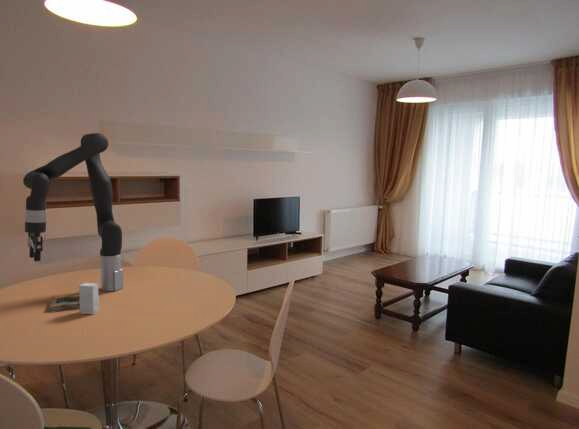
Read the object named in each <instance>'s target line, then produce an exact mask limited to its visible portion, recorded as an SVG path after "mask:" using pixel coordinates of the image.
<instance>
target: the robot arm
mask: <svg viewBox="0 0 579 429" xmlns="http://www.w3.org/2000/svg"><path fill="white" fill-rule="evenodd" d="M108 147H109V140H108V137H107V136H105V134H103V133H98V132H92V133H86V134H83V135H82V137H81V139H80V146H78V147H76V148H74V149H72V150H70V151H68V152H65V153H63V154H61V155H59V156H57V157H56V158H53V159H52V160H50V161H49V162H48V163H46V164H45V165H42V166H39V167H37V168H36V169H33V170H31V171H29V172H28V173H26V174H25V175H24V177H23V179H22V183H23V185H24V186H25V187H26V188H27V189H30V190H31V191H30V195H28V196H27V197H26V199H25V213H24V232H25V233H27V247H28V249H29V251H28V252H29V253H28V256H29V258H31V259H32V258H33V261H34V262H40V261H41V259H42V258H41V255H42V254H41V252H43V250H44V248H43V240H44V239H43V238H44V237H43V236H41V233H42V234H43V233H46V231H47V211H46V210H47V209H46V208H47V201H46V200H47V198H48V194H49V191H50V187H51V186H50V185H51V182H50V181H51V180H55V179H57V178H60V177H62V176H63V175H64V174H66V173H67V172H69V171H70V170H72V169H74V168H75V167H76V166H78V165H80V164H81V163H83V162H85V166H86V169H87V176H88V180H89V186H90V191H91V192H90V193H91V196H92V202H93V205H94V209H95V212H96V213H95V214H96V224H97V226H96V227H97V233H98V235H99V237H100V238H101V248H100V250H99V255H100V256H99V259H100V261H99V264H100V266H99V267H100V289H101V291H103V292H117V291H119V290H121V289H123V288H124V269H123V268H122V257H121V256H122V254H121V252H122V247H123V230H122V227H121V226H120V224H118V223H116V222H115V218H114V215H113V202H114V193H113V192H114V191H113V185H112V181H111V178H110V176H109V174H108V172H107V171H106V169H105V167H104V166H103V164H102V159H101V153H104V152H106V150H107V149H108Z"/></svg>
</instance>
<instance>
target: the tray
mask: <svg viewBox="0 0 579 429" xmlns="http://www.w3.org/2000/svg"><path fill="white" fill-rule="evenodd" d="M74 310H75V311H76V310H80V297H79V294H75V295H65V296H54V297H53V298H52V300H51V302H50V305H49V309H48V313H54V312H55V313H56V312H64V311H74Z"/></svg>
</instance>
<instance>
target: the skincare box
mask: <svg viewBox="0 0 579 429" xmlns="http://www.w3.org/2000/svg"><path fill="white" fill-rule="evenodd" d="M78 290H79V291H78V292H79V293H78V295H79V297H80V309H79V314H83V315H95V314H96V313H98V312H100V305H99V284H98V283H96V282H95V283H93V282H92V283H91V282H84V283H82V284H80V285H78Z"/></svg>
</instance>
